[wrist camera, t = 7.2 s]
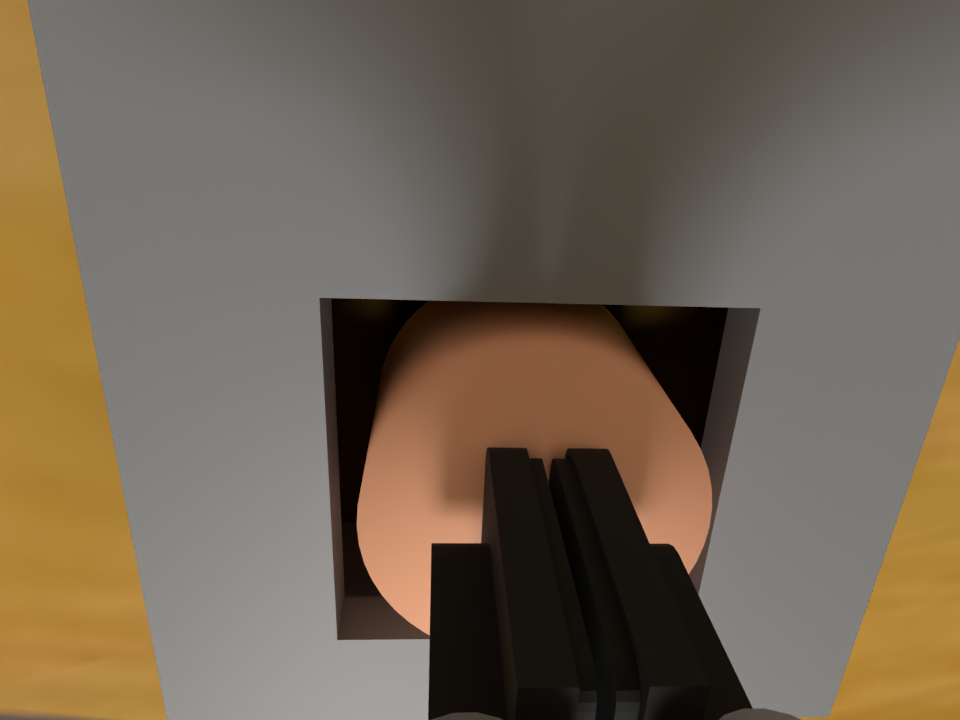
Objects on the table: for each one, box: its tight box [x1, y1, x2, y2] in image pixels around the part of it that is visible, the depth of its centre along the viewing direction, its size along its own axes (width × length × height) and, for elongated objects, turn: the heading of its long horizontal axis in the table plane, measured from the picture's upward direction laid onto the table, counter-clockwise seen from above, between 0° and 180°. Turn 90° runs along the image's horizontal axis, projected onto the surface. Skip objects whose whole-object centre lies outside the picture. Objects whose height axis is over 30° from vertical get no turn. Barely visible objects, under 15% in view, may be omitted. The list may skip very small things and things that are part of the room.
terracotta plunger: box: [357, 300, 712, 635], centre depth 12 cm, size 5×5×4 cm
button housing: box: [27, 0, 960, 720], centre depth 10 cm, size 22×12×4 cm, turn 178°
